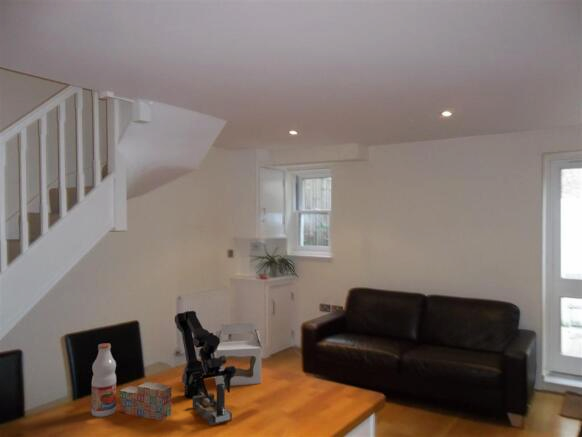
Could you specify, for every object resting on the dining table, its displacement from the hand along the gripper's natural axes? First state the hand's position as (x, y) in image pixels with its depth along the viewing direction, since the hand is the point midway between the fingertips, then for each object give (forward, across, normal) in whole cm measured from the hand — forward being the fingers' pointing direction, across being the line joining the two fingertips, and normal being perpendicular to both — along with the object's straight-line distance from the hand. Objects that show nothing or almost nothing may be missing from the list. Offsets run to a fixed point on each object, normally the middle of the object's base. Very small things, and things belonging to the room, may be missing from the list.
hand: (218, 394), depth 186 cm
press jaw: (+8, 0, +5) cm, 9 cm away
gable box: (-20, +26, +35) cm, 48 cm away
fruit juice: (-14, -38, +29) cm, 50 cm away
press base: (+2, 0, +12) cm, 13 cm away
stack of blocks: (-8, -23, +22) cm, 33 cm away
